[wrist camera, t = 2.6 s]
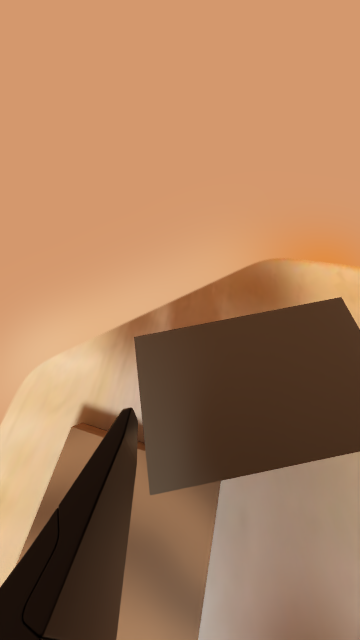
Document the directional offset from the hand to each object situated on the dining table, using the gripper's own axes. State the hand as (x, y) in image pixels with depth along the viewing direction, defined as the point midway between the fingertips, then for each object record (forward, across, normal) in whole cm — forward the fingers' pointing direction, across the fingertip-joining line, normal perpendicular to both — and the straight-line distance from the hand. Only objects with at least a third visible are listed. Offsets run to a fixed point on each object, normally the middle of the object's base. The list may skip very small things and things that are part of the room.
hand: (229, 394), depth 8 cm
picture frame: (+6, 0, +6) cm, 8 cm away
